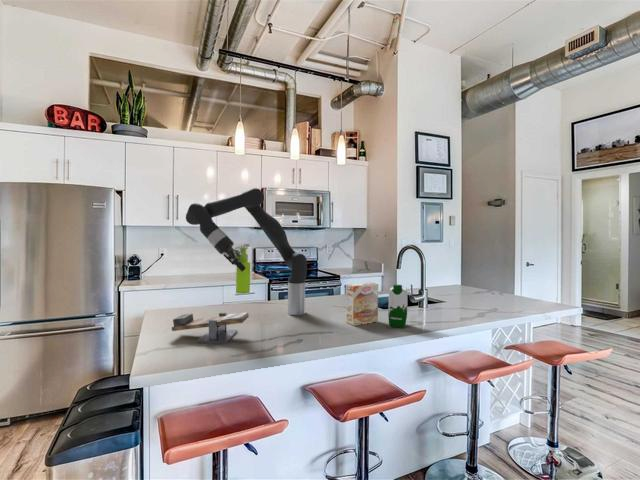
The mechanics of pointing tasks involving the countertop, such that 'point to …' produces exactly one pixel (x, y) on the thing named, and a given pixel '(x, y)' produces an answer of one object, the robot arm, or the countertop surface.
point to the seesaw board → (206, 321)
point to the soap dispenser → (243, 274)
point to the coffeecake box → (362, 303)
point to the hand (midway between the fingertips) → (246, 269)
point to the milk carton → (397, 306)
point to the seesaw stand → (217, 333)
